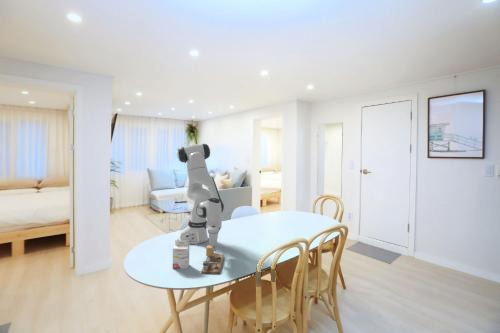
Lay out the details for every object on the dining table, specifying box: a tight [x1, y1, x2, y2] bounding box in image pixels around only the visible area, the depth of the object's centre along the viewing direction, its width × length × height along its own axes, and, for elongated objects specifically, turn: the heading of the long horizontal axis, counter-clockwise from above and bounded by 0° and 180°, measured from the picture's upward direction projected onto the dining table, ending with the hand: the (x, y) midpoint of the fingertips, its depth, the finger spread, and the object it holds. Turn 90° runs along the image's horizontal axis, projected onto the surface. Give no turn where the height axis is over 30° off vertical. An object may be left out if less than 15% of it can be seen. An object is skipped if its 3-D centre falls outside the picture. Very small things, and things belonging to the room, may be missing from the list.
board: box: [200, 253, 225, 275], centre depth 144 cm, size 10×22×4 cm, turn 0°
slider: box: [205, 244, 220, 258], centre depth 150 cm, size 8×4×7 cm, turn 90°
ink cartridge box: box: [172, 239, 190, 270], centre depth 140 cm, size 9×5×15 cm, turn 92°
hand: (214, 247), depth 151 cm, fingers open, 8 cm apart
